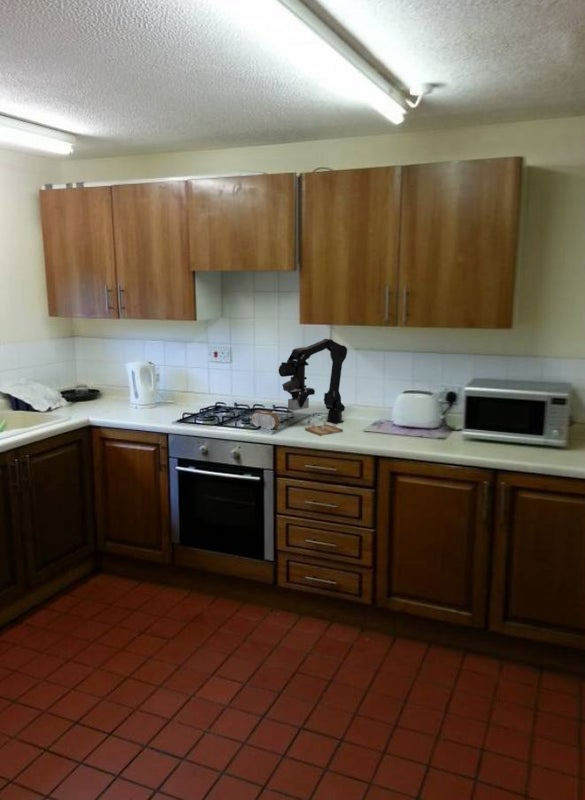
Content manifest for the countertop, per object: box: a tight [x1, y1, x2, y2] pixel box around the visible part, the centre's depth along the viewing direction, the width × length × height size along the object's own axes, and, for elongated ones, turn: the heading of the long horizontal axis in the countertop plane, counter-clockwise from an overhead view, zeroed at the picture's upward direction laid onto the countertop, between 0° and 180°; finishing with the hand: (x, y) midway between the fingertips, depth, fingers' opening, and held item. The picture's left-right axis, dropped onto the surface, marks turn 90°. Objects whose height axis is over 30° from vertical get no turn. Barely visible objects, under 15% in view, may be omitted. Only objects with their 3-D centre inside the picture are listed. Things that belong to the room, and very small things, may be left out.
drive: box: [287, 397, 310, 412], centre depth 313 cm, size 10×4×5 cm, turn 132°
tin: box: [250, 409, 280, 429], centre depth 313 cm, size 15×3×8 cm, turn 59°
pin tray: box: [304, 420, 344, 437], centre depth 310 cm, size 14×12×4 cm
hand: (298, 406), depth 313 cm, fingers closed on drive, 4 cm apart
